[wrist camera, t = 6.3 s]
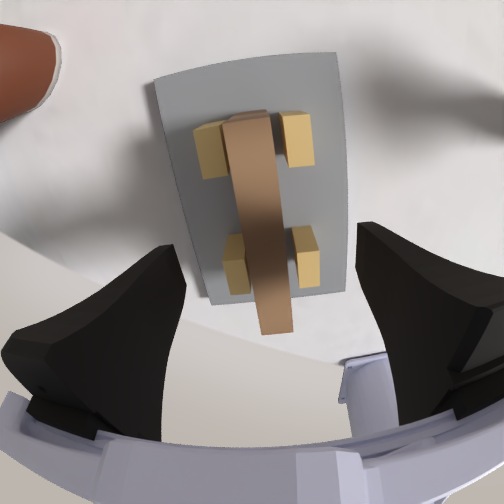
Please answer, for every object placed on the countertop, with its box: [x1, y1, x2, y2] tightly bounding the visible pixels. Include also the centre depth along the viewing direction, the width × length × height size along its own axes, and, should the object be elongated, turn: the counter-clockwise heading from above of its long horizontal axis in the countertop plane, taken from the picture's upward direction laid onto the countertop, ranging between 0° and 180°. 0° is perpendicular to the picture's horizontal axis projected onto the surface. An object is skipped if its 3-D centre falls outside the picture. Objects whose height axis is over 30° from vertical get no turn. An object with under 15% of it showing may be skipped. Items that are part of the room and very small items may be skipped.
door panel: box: [222, 109, 293, 335], centre depth 14 cm, size 10×2×6 cm, turn 8°
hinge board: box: [154, 52, 348, 305], centre depth 15 cm, size 16×10×4 cm, turn 8°
